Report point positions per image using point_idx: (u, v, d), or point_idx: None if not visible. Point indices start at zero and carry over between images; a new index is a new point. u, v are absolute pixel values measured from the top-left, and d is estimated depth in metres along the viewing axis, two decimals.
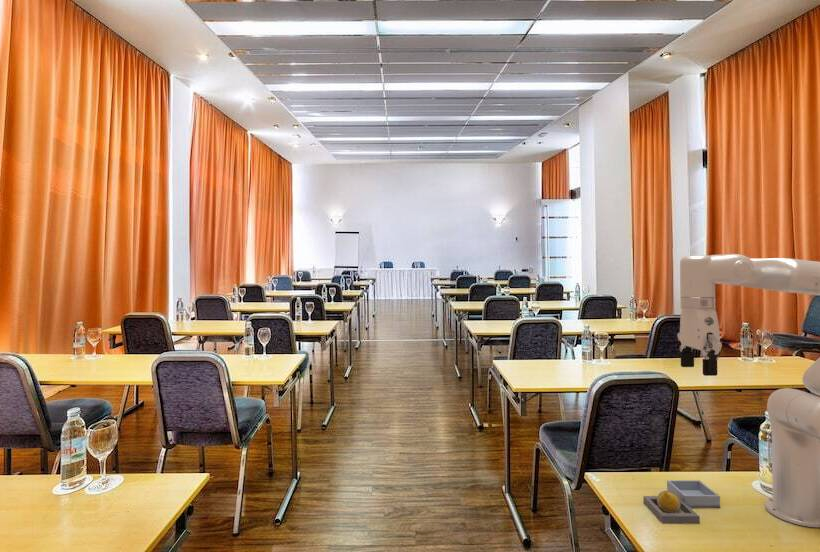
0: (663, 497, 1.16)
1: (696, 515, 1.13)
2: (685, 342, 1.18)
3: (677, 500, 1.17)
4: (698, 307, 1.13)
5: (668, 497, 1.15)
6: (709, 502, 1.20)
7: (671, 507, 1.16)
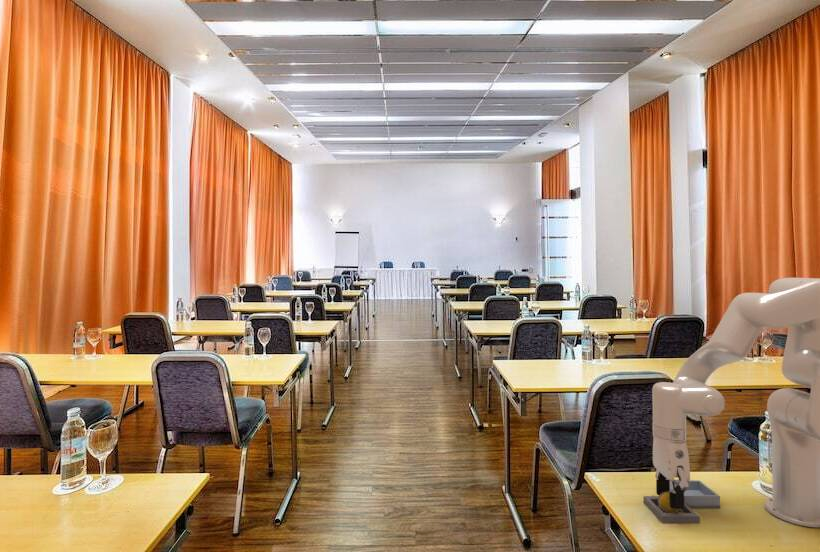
0: (664, 498, 1.16)
1: (696, 515, 1.13)
2: (657, 467, 1.19)
3: None
4: (669, 438, 1.14)
5: (669, 498, 1.15)
6: (709, 502, 1.20)
7: None
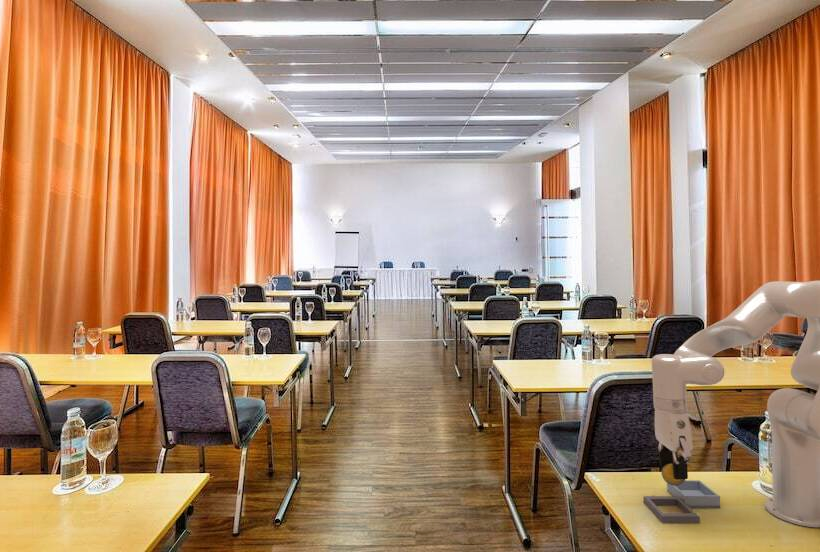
0: (668, 469, 1.15)
1: (696, 515, 1.13)
2: (660, 439, 1.19)
3: None
4: (670, 409, 1.14)
5: None
6: (709, 502, 1.20)
7: None
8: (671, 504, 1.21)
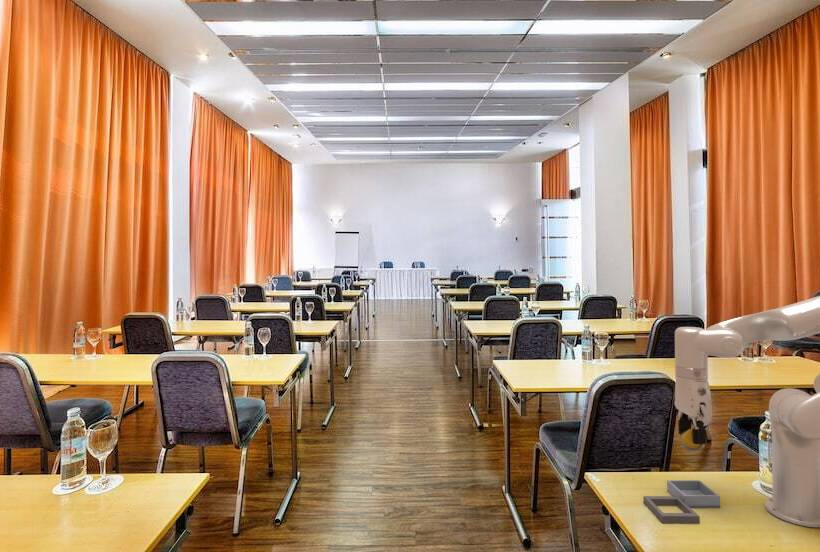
0: (687, 434, 1.22)
1: (696, 515, 1.13)
2: (680, 407, 1.26)
3: None
4: (691, 378, 1.20)
5: (692, 434, 1.21)
6: (709, 502, 1.20)
7: (694, 444, 1.22)
8: (671, 504, 1.21)
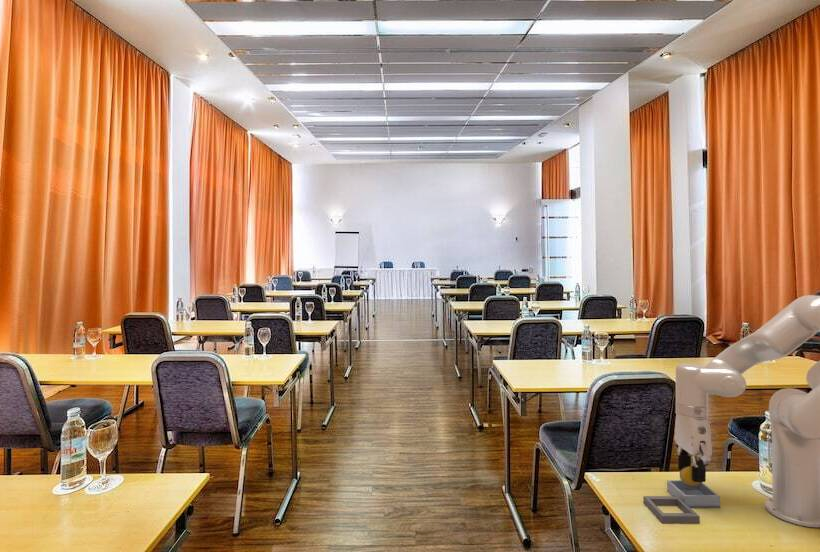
0: (686, 472, 1.22)
1: (696, 515, 1.13)
2: (679, 444, 1.26)
3: None
4: (692, 415, 1.21)
5: (691, 471, 1.21)
6: (709, 502, 1.20)
7: None
8: (671, 504, 1.21)
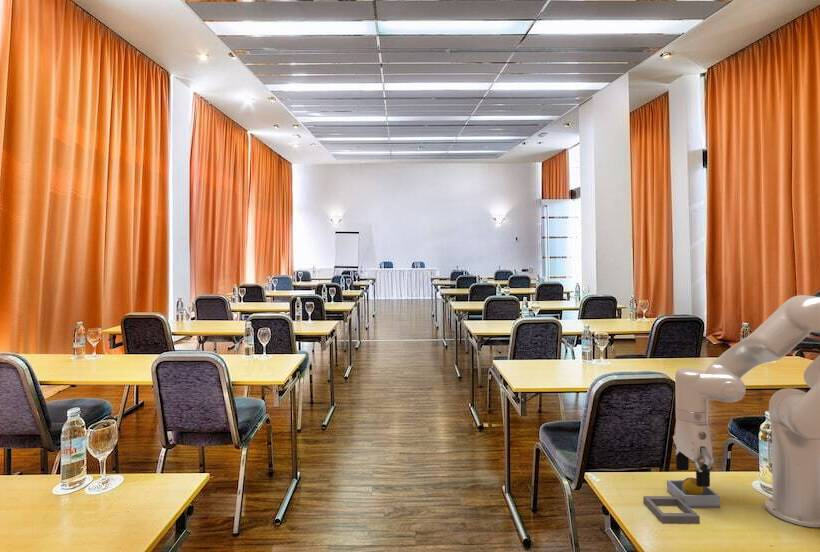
0: (688, 483, 1.22)
1: (696, 515, 1.13)
2: (680, 449, 1.26)
3: None
4: (692, 421, 1.21)
5: (693, 483, 1.21)
6: (709, 502, 1.20)
7: (696, 493, 1.22)
8: (671, 504, 1.21)
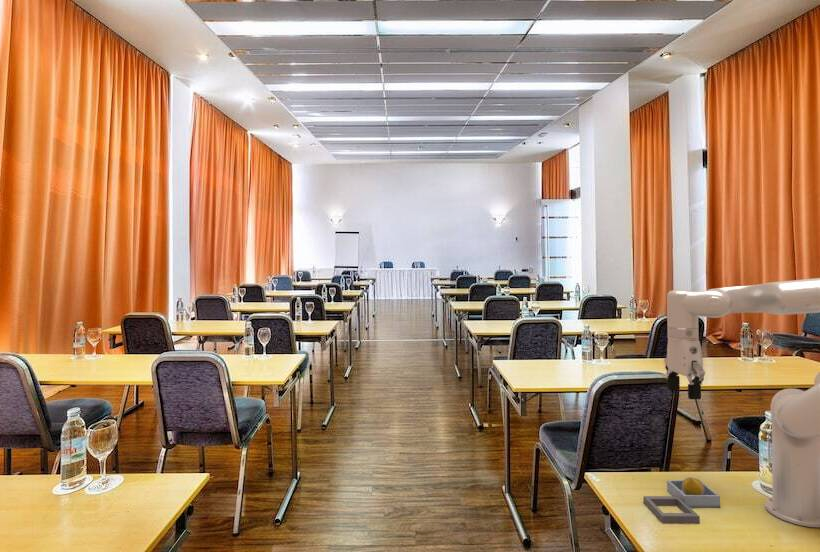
0: (688, 483, 1.22)
1: (696, 515, 1.13)
2: (672, 368, 1.31)
3: (701, 486, 1.23)
4: (683, 337, 1.25)
5: (693, 483, 1.21)
6: (709, 502, 1.20)
7: (696, 493, 1.22)
8: (671, 504, 1.21)
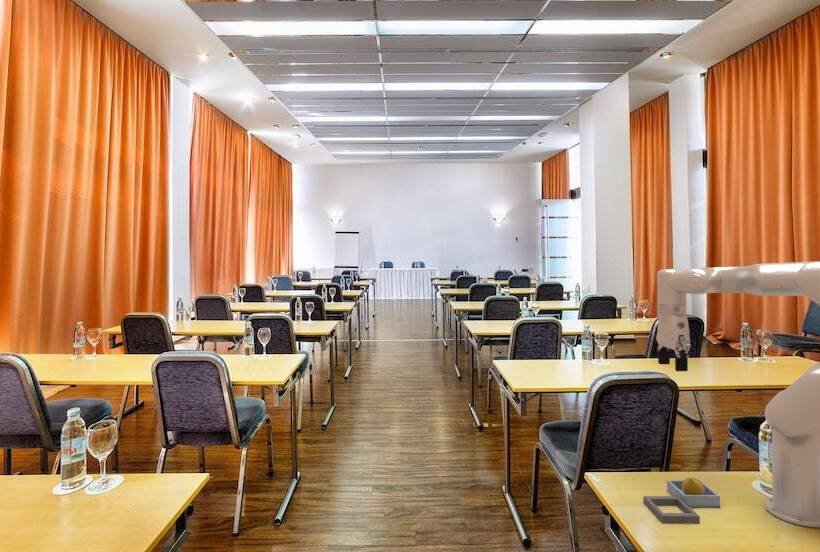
0: (688, 483, 1.22)
1: (696, 515, 1.13)
2: (661, 343, 1.38)
3: (701, 486, 1.23)
4: (671, 313, 1.33)
5: (693, 483, 1.21)
6: (709, 502, 1.20)
7: (696, 493, 1.22)
8: (671, 504, 1.21)
